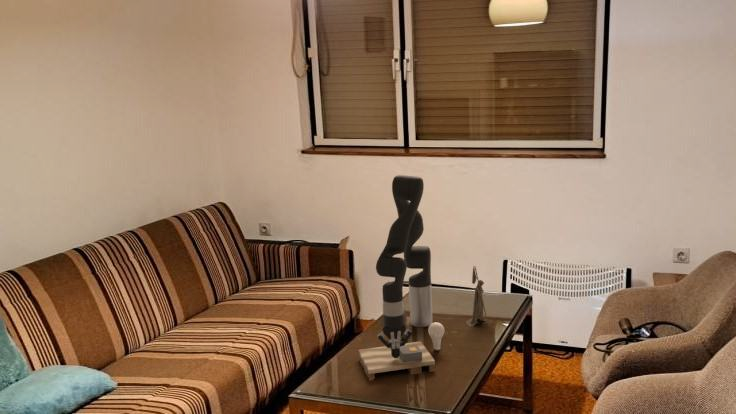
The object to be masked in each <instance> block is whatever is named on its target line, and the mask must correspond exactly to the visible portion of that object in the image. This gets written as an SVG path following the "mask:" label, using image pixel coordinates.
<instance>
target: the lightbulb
mask: <svg viewBox="0 0 736 414" xmlns="http://www.w3.org/2000/svg"><path fill="white" fill-rule="evenodd" d="M427 331H428V335H429V337H430V338H431V342H432V344H433V346H432V347H433V349H434V350H435V351H439V350H441V343H442V339H443V337H444V334H445V327H444V325H443V324H442V323H440V322H435V321H434V322H433V323H432V324H431V325H430V326H428V330H427Z"/></svg>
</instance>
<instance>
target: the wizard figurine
mask: <svg viewBox="0 0 736 414" xmlns="http://www.w3.org/2000/svg"><path fill="white" fill-rule="evenodd" d="M471 275H472V276H471V277H472V278H471V279H472V280H471V283H472V284H473V285H475V284H476V282H477V285H476V286H475V288H474V298H473V306H472V307H473V309H472V317H471V318H470V319H468V320H467V321H466V325H467V326H468V327H474V326H475V325H476V324H477V325H478V324H479V322H478V320H479V319H480V321H481V322H483V321H484V322H487V323H488V322H489V321H488V316H487V311H486V308H485V303H484V298H483V294H484V289H483V286H484V284H485V282H484V281H483V280H482V279H479V276H478V272H477V268H476V265H473V268H472V274H471ZM484 316H485V319H484Z"/></svg>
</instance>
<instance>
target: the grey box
mask: <svg viewBox="0 0 736 414" xmlns="http://www.w3.org/2000/svg"><path fill="white" fill-rule="evenodd" d="M400 358H401V359H402V361H403V362H409V361H416V360H422V351H421V350H420V348H419V347H418V345H416V346H408V347H401V348H400Z"/></svg>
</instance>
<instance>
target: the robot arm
mask: <svg viewBox="0 0 736 414" xmlns="http://www.w3.org/2000/svg"><path fill="white" fill-rule="evenodd" d="M424 183H425V182H424V180H423V178H422V177H421V176H417V175H416V176H414V175H408V174H407V175H406V174H398V175H396V176H394V177H393V180H392V182H391V191H392V197H393V200H394V205H395V208H396V210H397V218H396V219H395V220H394V222H393V223H392V224H391V226H390V228H389V232H388V236H387V239H386V244H385V245H384V247H383V250H382V251H381V253H380V254H379V257H378V259H377V261H376V263H375V270H376V274H377V275H378V276H380V277H382V278H383V277H385V278H394V280H393V281H388V282H385V283H383V285H382V321H383V322H382V323H383V327H382V331H381V332H379V333H377V334H376V337H377V338H378V340H379V341H380V342H381V343H382V344H383V345H384V346H386V347H387V348H391V355H392V357H394V358H398V356H400V347H401V346H404V345H405V344H406V343H408V341H409V339H410V338H411V337H412V335H413V331H411V330H410V329H408V328H407V326H406V325H405V304H404V299H403V298H404V293H403V287H404V280H405V276H406V272H407V270H408V269H411V270H413V269H414V270H419V269H420V270H421V271H420V272H418V273H415V274H413V275H411V276H409V278H408V293H409V294H408V295H409V300H408V301H409V316H410V318H409V319H410V325H411V326H413V327H416V328H425V327H429V326H430V325H431V324H432V323H434V322H433V302H432V301H433V300H432V299H433V298H432V276H431V275H432V274H431V272H432V271H431V266H432V265H431V262H432V254H431V249H430V247H429V246H426V245H424V246H422V245H421V246H420V245H416V246H415V245H414V244H416V242H417V241H419V240H420V239H421V237H422V235H423V233H424V229H425V227H424V221H423V220H424V219H423V216H422V214H421V213H420V211H419V206H420V203H421V201H422V198H423V194H424V188H425V187H424ZM400 254H403V258H402V257H398V256H397V257H395V256H396V255H400ZM385 337H386V338H388V340H389V342H388V341H387V340H386V339H385Z"/></svg>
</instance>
